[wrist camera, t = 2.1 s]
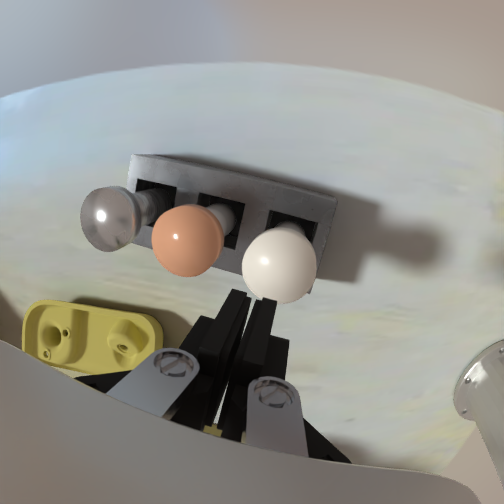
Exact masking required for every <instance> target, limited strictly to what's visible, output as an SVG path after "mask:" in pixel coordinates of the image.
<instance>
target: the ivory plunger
mask: <svg viewBox="0 0 504 504" xmlns="http://www.w3.org/2000/svg"><path fill="white" fill-rule="evenodd" d="M316 271H317V267H316V255H315V251H314V249H313V247H312V245H311V243H310V242H309V241H308V239H307V238H306V236H305V232H304V229H303V228H302V226H301V225H299V224H298V223H296V222H294V221H283V222H281V223H279V224H278V225H277V226H276V227H275V228H272V229H269V230H266V231H264V232H262V233H261V234H259V235H258V236H257V237H256V238H255V239H254V240H253V242H252V243H251V244H250V246H249V247H248V249H247V250H246V252H245V254H244V257H243V261H242V274H243V277H244V280H245V282H246V284H247V286H248V287H249V289H250V290H251V291H252V292H253V293H254V294H255V295H256V296H257V297H259V298H261V299H262V298H263V297H265V298H268V299H272V300H276V301H277V304H286V303H290V302H294V301H296V300H298V299H300V298H302V297H303V296H304V295H305V294H306V293H307V292H308V291H309V290H310V289H311V287H312V285H313V283H314V281H315V278H316Z"/></svg>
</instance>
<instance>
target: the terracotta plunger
mask: <svg viewBox="0 0 504 504" xmlns="http://www.w3.org/2000/svg"><path fill="white" fill-rule="evenodd" d="M235 224H236V215H235V212H234V210H233V209H232V208H231V207H230V206H229V205H227V204H225V203H215V204H213V205H210V206H208V207H206V208H205V207H203V206H200V205H196V204H185V205H181V206H178V207H175V208H173V209H170V210H168V211H166V212H165V213H163V214H162V215H161V216H160V217H159V218H158V220H157V221H156V223H155V225H154V228H153V231H152V247H153V251H154V253H155V256H156V258H157V259H158V261H159V262H160V263H161V265H162V266H163V267H164V268H165V269H167V270H168V271H170V272H171V273H173V274H175V275H178V276H182V277H193V276H197V275H200V274H202V273H204V272H205V271H206V270H207V269H209V268H210V267H211V265H212V264H213V263H214V262H215V261H216V260H217V259H218V258H219V256H220V254H221V252H222V250H223V246H224V237H225V236H226V235H227V234H229V233H230V232H231V231H232V230H233V229H234V227H235Z"/></svg>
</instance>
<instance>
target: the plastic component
mask: <svg viewBox="0 0 504 504" xmlns="http://www.w3.org/2000/svg"><path fill="white" fill-rule="evenodd" d="M124 345H125V346H126V347H125V346H124ZM162 348H163V330H162V327H161V325H160V323H159V322H158V321H157V320H156V319H155V318H154V317H152V316H150V315H148V314H142V313H135V312H128V311H122V310H115V309H109V308H103V307H97V306H91V305H85V304H77V303H71V302H64V301H56V300H40V301H37V302H35V303H34V304H32V305H31V306H30V307H29V309H28V310H27V312H26V314H25V316H24V320H23V326H22V351H24V352H26V353H27V354H29V355H31V356H33V357H35V358H36V359H38V360H40V361H42V362H44V363H46V364H48V365H50V366H54V367H59V368H64V369H69V370H73V371H78V372H82V373H87V374H91V375H97V374H105V373H113V372H120V371H127V370H133V369H134V368H136V367H137V366H138V365H139V364H140V363H141V362H142V361H143V360H145V359H146V358H147V357H148V356H149V355H150V354H151V353H153V352H155V351H156V350H159V349H162ZM46 352H48V356H47V355H46Z"/></svg>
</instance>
